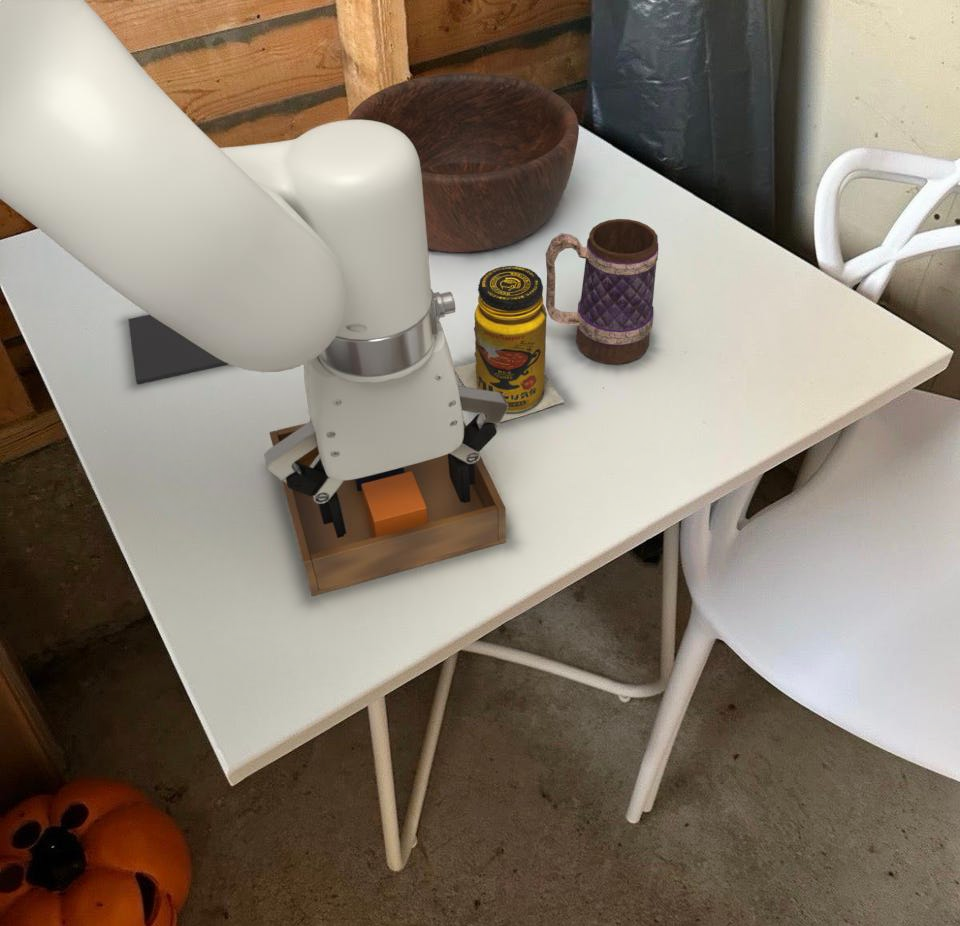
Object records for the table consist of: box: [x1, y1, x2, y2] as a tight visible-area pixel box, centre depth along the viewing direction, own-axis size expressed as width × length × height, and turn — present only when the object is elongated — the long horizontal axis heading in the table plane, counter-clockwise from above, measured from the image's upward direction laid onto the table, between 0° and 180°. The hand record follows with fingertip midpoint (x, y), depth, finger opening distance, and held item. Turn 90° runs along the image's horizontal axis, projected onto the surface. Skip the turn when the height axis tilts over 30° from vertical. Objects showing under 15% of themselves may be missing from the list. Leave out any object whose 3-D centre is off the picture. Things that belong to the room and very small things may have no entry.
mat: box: [128, 314, 229, 385], centre depth 90 cm, size 10×10×1 cm
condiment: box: [454, 265, 565, 423], centre depth 80 cm, size 7×8×12 cm
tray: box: [269, 420, 507, 597], centre depth 73 cm, size 15×14×4 cm
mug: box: [545, 218, 659, 365], centre depth 84 cm, size 10×7×12 cm
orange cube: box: [361, 471, 428, 538], centre depth 70 cm, size 4×4×4 cm
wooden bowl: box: [347, 72, 580, 253], centre depth 102 cm, size 25×25×10 cm
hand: (399, 506), depth 70 cm, fingers open, 9 cm apart
